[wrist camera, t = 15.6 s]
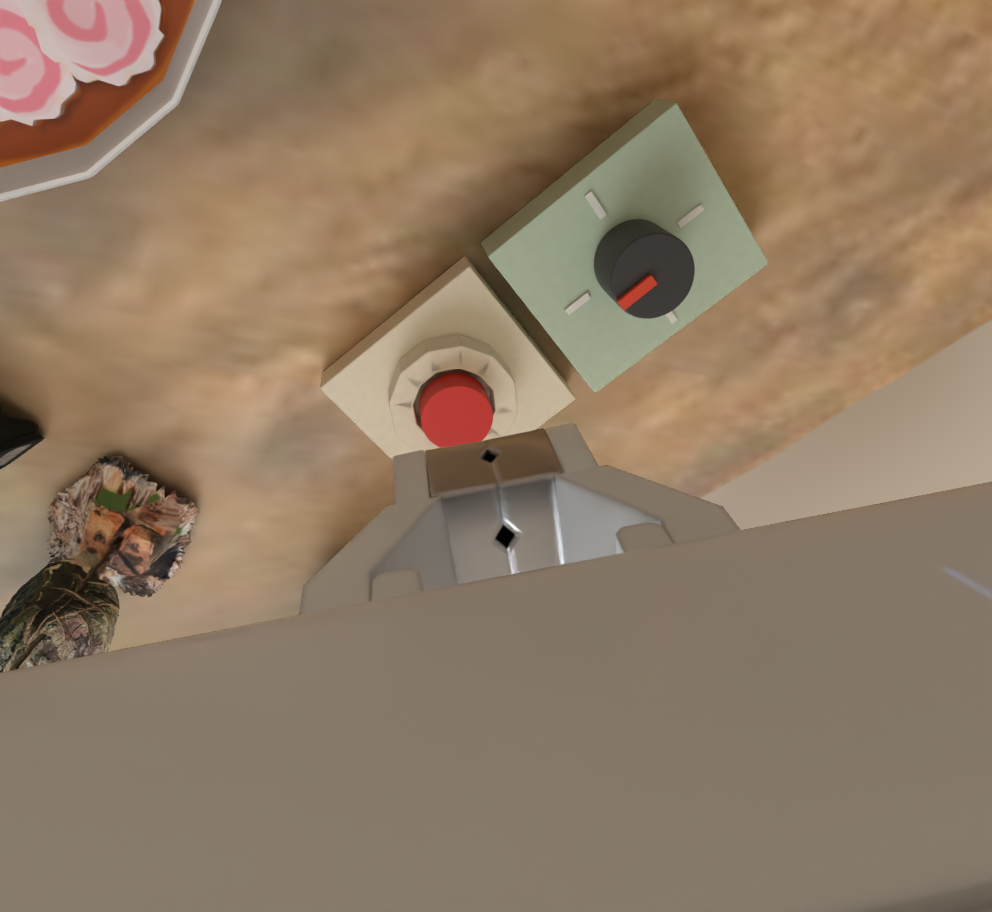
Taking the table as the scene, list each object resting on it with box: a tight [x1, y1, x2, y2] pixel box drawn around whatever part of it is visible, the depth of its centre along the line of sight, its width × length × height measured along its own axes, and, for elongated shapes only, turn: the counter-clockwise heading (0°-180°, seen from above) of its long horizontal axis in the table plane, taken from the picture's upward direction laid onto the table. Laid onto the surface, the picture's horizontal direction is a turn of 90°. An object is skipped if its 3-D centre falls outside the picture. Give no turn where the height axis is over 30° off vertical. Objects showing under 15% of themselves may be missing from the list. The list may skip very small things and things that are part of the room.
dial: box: [594, 219, 695, 319], centre depth 37 cm, size 4×4×4 cm
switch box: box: [320, 256, 576, 460], centre depth 41 cm, size 10×10×4 cm
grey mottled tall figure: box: [0, 456, 199, 673], centre depth 36 cm, size 8×11×20 cm
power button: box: [419, 373, 493, 448], centre depth 39 cm, size 4×4×2 cm
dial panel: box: [481, 99, 768, 393], centre depth 39 cm, size 11×10×3 cm
